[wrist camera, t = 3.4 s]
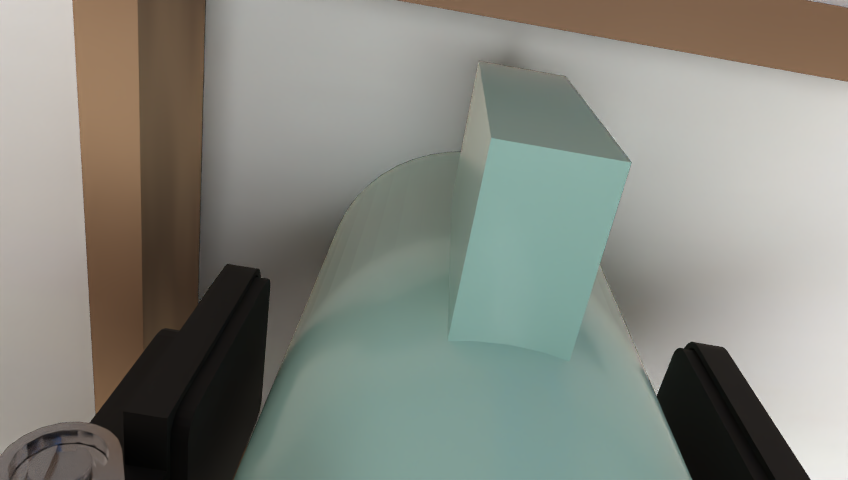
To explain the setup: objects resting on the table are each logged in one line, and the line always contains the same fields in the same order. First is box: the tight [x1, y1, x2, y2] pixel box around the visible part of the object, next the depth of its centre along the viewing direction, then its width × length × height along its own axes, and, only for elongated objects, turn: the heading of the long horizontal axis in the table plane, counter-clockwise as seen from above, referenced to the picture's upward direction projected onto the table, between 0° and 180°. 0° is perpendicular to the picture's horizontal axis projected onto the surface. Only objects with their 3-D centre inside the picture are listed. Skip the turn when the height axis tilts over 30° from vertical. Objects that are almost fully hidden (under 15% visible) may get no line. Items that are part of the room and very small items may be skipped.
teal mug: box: [234, 61, 692, 480], centre depth 10 cm, size 8×6×11 cm
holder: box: [72, 0, 848, 480], centre depth 14 cm, size 14×14×3 cm
